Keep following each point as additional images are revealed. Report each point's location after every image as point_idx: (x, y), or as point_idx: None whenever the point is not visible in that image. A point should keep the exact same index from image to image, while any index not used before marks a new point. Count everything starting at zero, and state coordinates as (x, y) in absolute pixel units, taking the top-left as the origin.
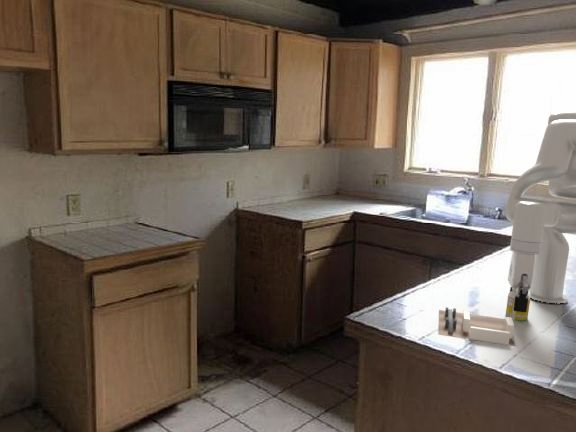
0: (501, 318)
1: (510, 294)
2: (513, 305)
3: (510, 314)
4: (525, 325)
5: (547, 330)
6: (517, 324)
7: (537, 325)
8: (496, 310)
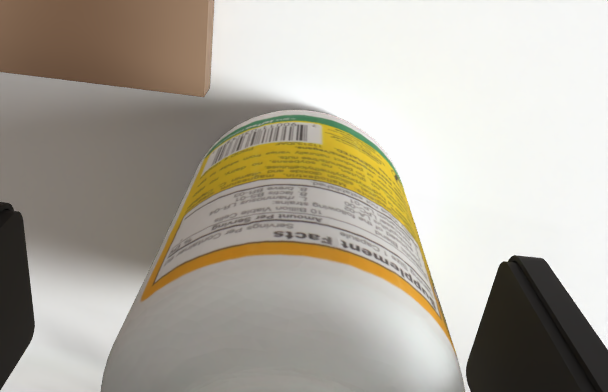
0: (204, 44)
1: (224, 299)
2: (165, 243)
3: (211, 162)
4: None
5: None
6: (177, 191)
7: None
8: (593, 70)
